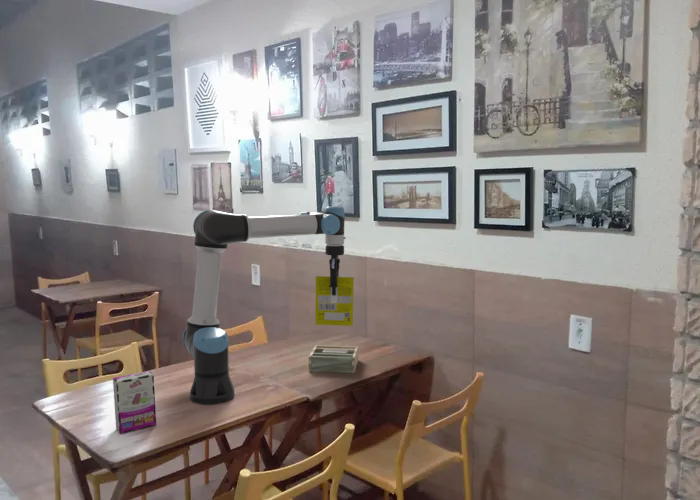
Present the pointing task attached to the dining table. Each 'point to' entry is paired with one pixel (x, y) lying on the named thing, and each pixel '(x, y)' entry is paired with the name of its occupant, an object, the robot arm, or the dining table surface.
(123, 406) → the candy bar box
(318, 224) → the robot arm
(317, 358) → the rack
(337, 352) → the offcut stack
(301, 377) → the dining table surface
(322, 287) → the food package
